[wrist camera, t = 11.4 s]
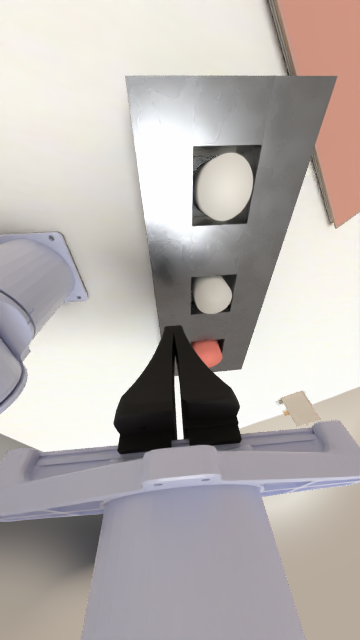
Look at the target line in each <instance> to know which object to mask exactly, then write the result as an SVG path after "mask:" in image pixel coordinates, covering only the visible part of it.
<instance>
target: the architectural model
mask: <svg viewBox="0 0 360 640" xmlns="http://www.w3.org/2000/svg"><path fill="white" fill-rule="evenodd" d="M281 399H282V401H283V403H284V405H285V406H286V408H287V409H286V410H283V413H284V414H285V416H286V415H291V417H292V419H293V421H294V422H295V424H296V426H300V425H303V424H306V425H308V423H310V422H313V421H316V420H320V417H319V416H318V414H317V413H316V411H315V410H314V409H313V407H312V404H311V403H310V401H309V400H308V398H307V397H306V396H305V394H304V393H303V391H300V392H297V393H294V394H291V395H288V396H285V397H282V398H281Z"/></svg>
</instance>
